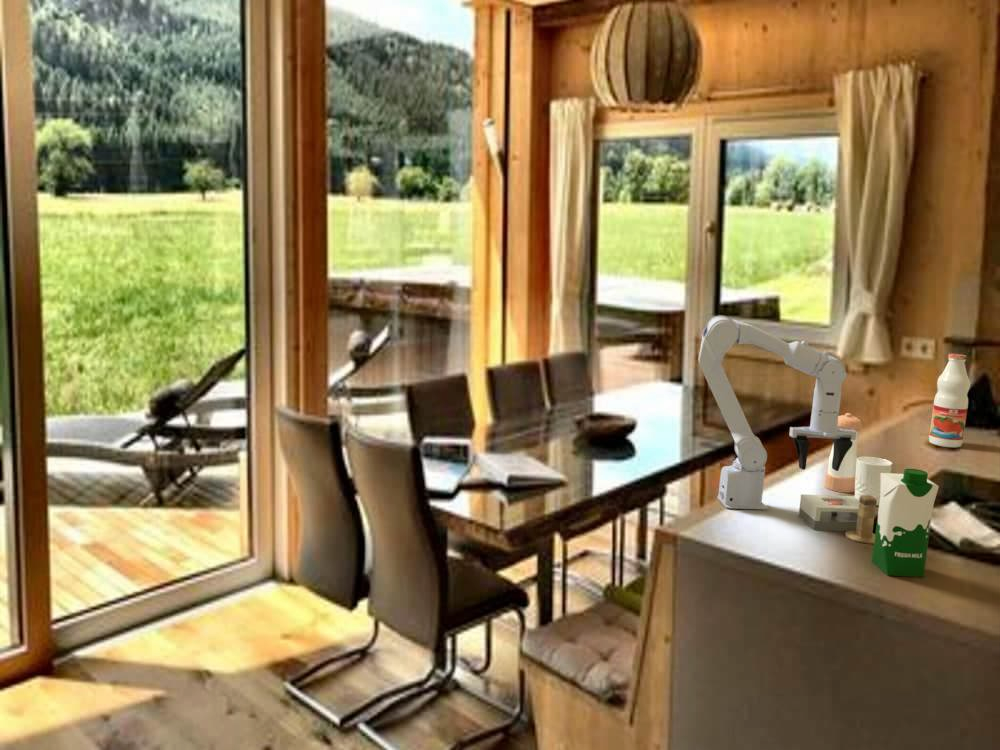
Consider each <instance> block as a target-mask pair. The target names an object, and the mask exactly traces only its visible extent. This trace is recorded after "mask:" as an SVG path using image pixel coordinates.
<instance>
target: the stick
mask: <svg viewBox="0 0 1000 750" xmlns="http://www.w3.org/2000/svg"><path fill="white" fill-rule="evenodd" d="M876 503H877V499H876V498H874V497H873V496H870V495H860V499H859V510H858V518H857V526H856V535H858V536H859V537H860V538H872V533H874V532H873V531H874V525H875V515H876V507H877V505H876Z"/></svg>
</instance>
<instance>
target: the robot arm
mask: <svg viewBox="0 0 1000 750" xmlns="http://www.w3.org/2000/svg"><path fill="white" fill-rule="evenodd" d="M735 343H737V345H744V344H745V345H746V344H753V345H754V346H755V345H756V346H758V347H760V348H763V349H765V350H767V351H769V352H771V353H774V354H777V355H779V356H780V357H782V359H783V362H784V364H785V365H787V366H788V367H790V368H793V369H796V371H797V370H798V371H800V372H801V373H804V374H807V375H809V376H811V377H813V376H815V377H816V378H815V385H814V386H815V387H814V388H813V399H812V407H811V415H810V424H809V426H798V427H797V426H794V427H793V426H790V427H789V437H791V439H792V442H793V445H794V447H795V450H796V451H795V452H796V454H797V461H798V469H799V468H800V469H801V470H806V469H807V468H806V467H807V458H808V453H809V448H810V445H811V442H810V441H809V439H808V438H810V439H811V438H812V439H813V438H815V439H816V438H817V439H818V438H819V439H832V440H833V441H832V442H833V443H832V445H833V444H834V452H833V460H832V469H834V470H835V471H838V470H839V468H840V465H841V462H842V460H843V458H844V456H845V455H846V453H847V452H848V450H849V449H850V448H851V447H852V444H853V442H852V441H851V440H856V431H854V430H849V429H839V428H837V424H838V416H840V415H839V414H840V407H841V399H842V385H843V382H844V381H845V380H846V379H847V376H848V373H847V371H846V366H845V364H844V363H843V362H842V361H841V360H839V359H838V358H836V357H835V356H833V355H832V354H829V352H828V351H825V350H823V352H822V351H821V350H818V349H816V348H813V347H811V346H809V344H810V343H809V342H807V341H805V340H802V341H797V340H796V341H792V342H789V343H788V342H786V341H784V340H782V339H780V338H778V337H776V336H775V335H774V336H773V335H772V334H769V332H766V331H764V330H762V329H760V328H758V327H757V326H754V325H751V324H749V323H746V322H744V321H741V320H737V319H735V318H734V319H730V318H729V317H728V316H725V315H717V316H713V317H712V318H710V319H709V321H708V322H707V324H706V326H705V327H704V329H703V330H702V336H701V342H700V349H699V353H698V357H697V358H698V363H699V367H700V368H701V371H702V374H703V375H704V377H705V380H706V382H707V384H708V388H710V390H711V393H712V395H713V397H714V400H715V401H716V404H717V406H718V408H719V410H720V412H721V415H722V417H723V419H724V421H725V423H726V426H727V428H728V429H729V431H730V434H731V436H732V439H733V440H734V452H735V454H736V456H737V457H736V458H735V459H734V461H733V462H732V464H731V465H728V466H726V465H725V466H722V468H721V471H720V475H719V486H718V487H719V488H718V495H717V499H718V500H719V501H720V502H721V504H722V505H723V506H724V507H725V508H726V509H738V510H739V509H740V510H742V509H743V510H768V507H767V506H766V505H765V503H764V502H763V501H762V500H763V492H764V485H765V484H764V483H765V474H766V465H765V464H766V462H767V460H768V452H767V451H766V449H765V447H764V446H763V443H762V441H761V440H760V438H759V437H758V436H756V435H755V434H754V433H753V431H752V429H751V426H750V424H749V422H748V419H747V418H746V415H745V413H744V411H743V409H742V407H741V404H740V402H739V400H738V398H737V395H736V393H735V391H734V390H733V386H732V385H731V383H730V381H729V379H728V376H727V375H726V372H725V370H724V367H723V365H722V362H723V360H724V358H725V356H726V353H727V352H728V350H730V349H731V347H732V346H733V345H734V344H735Z"/></svg>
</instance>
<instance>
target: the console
mask: <svg viewBox="0 0 1000 750" xmlns="http://www.w3.org/2000/svg"><path fill="white" fill-rule="evenodd" d="M829 501H838V502H841V503H842V504H843V505H828V502H829ZM858 510H859V500H858V499H857V498H855V495H853V496H852V495H831V494H830V495H828V494H827V495H826V494H825V495H824V494H800V501H799V509H798V517H799V518H800V519H802V521H804V522H805V523H806V524H807V525H808V526H809V527H810V528H812V530H815V531H836V532H837V531H838V532H839V531H840V532H841V531H842V532H847V531H851V530H856V526H857V518H858ZM831 512H837V515H832V514H831Z"/></svg>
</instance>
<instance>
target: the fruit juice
mask: <svg viewBox="0 0 1000 750" xmlns="http://www.w3.org/2000/svg"><path fill="white" fill-rule="evenodd" d="M947 359H948V362H947V364H946V366H945V368H944V370H943V372H942V373H941V374H940V375H939V376H938V378H937V382H936V387H937V392H936V393H935V396H934V399H933V405H932V406H933V407H932V412H931V414H932V415H931V419H930V420H931V421H930V427H929V434H928V442H929V443H930V444H932V445H935V446H939V447H943V448H961V447H962V446H963V442H964V435H965V428H966V422H967V414H968V408H969V407H968V406H969V397H968V393H969V390H970V389H971V380H970V379H969V376H968V372H967V369H966V364H965V363H966V361H967V355H965V354H960V353H948V357H947Z"/></svg>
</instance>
